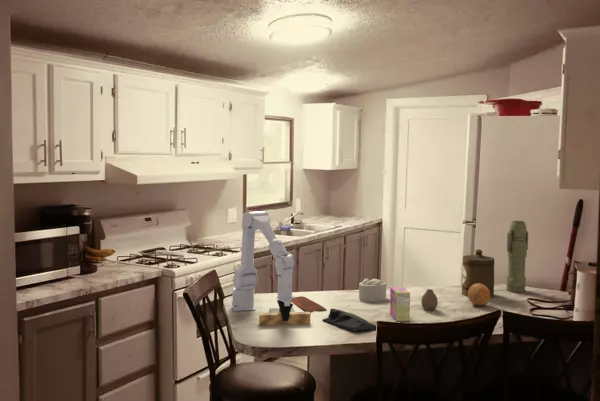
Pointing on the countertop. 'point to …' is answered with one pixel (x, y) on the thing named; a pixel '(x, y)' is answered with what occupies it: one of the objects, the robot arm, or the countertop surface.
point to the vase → (429, 300)
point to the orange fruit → (479, 294)
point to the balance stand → (278, 310)
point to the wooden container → (478, 272)
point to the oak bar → (277, 320)
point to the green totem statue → (517, 256)
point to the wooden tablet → (307, 304)
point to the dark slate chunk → (348, 321)
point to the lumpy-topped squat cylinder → (372, 290)
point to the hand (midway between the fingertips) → (284, 319)
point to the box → (400, 303)
